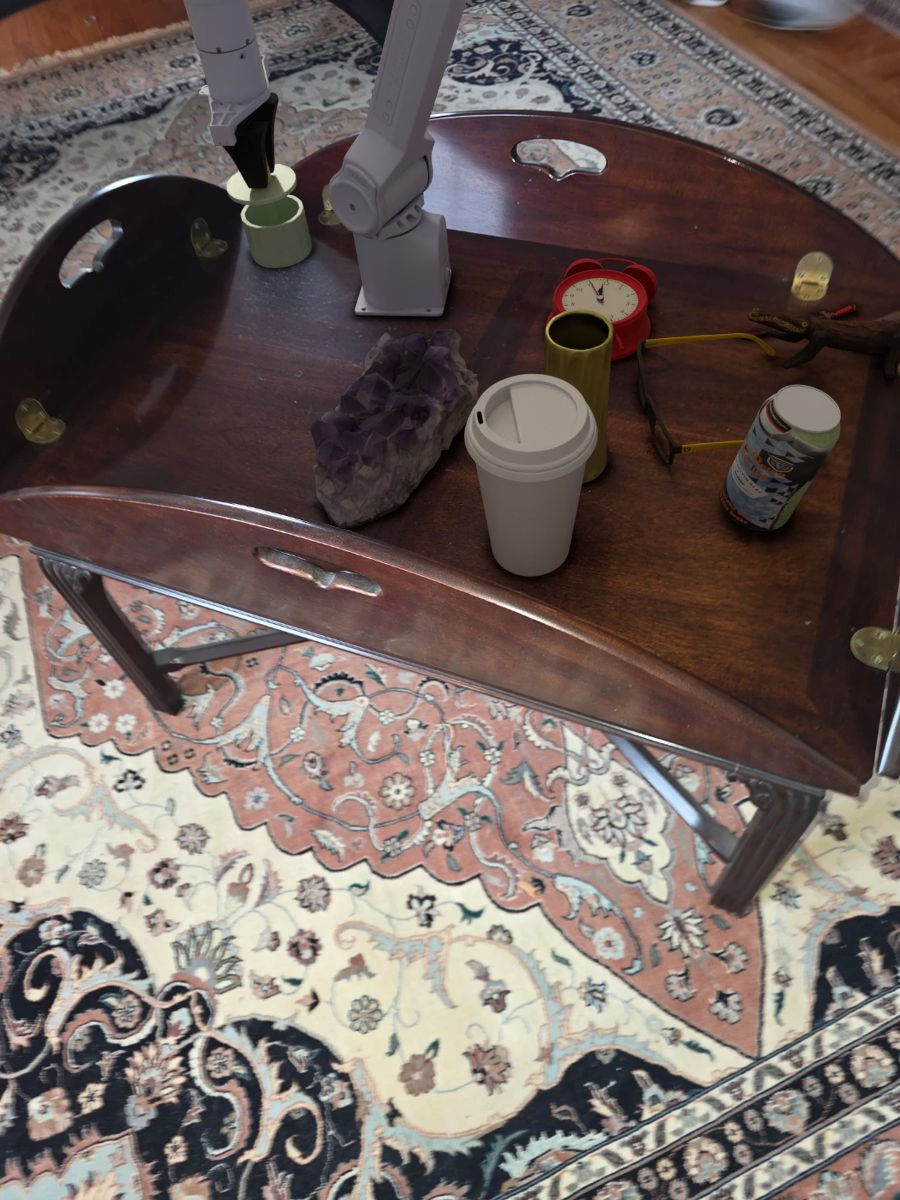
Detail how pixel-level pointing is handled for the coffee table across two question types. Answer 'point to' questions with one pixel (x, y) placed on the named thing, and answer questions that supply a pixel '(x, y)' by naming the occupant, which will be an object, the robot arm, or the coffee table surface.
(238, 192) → the lid
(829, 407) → the beverage can
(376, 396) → the geode
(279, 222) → the tin
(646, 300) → the alarm clock
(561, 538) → the coffee cup
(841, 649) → the coffee table surface
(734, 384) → the coffee table surface
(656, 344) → the eyeglasses
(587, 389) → the vase
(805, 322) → the toy
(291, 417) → the coffee table surface
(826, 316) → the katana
